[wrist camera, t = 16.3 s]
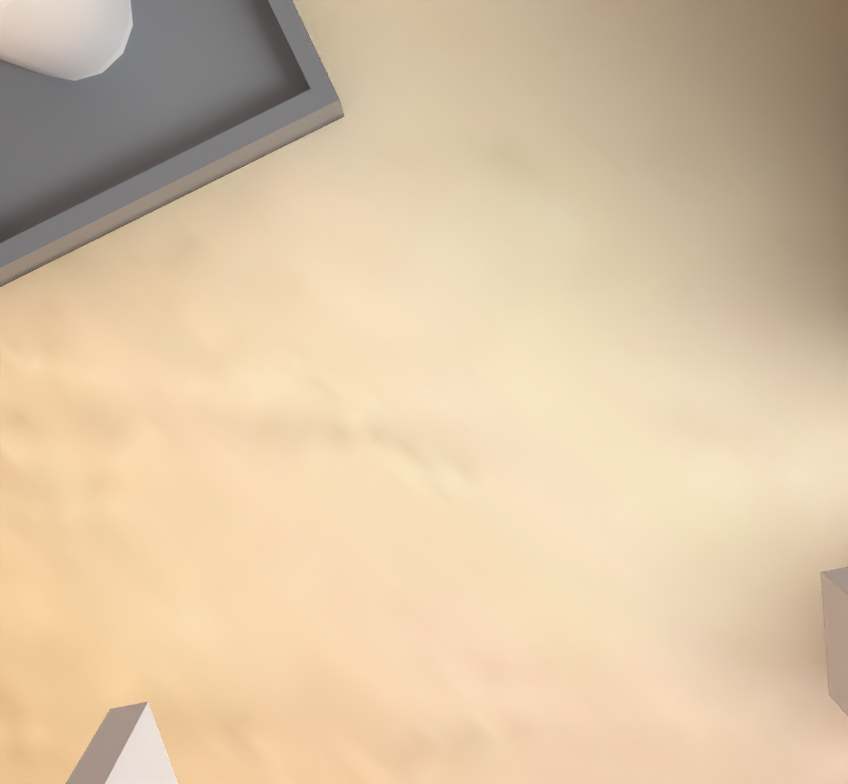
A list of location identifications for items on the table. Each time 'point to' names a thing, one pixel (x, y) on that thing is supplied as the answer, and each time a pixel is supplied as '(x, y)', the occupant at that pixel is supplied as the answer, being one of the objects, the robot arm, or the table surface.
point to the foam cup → (64, 35)
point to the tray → (152, 121)
